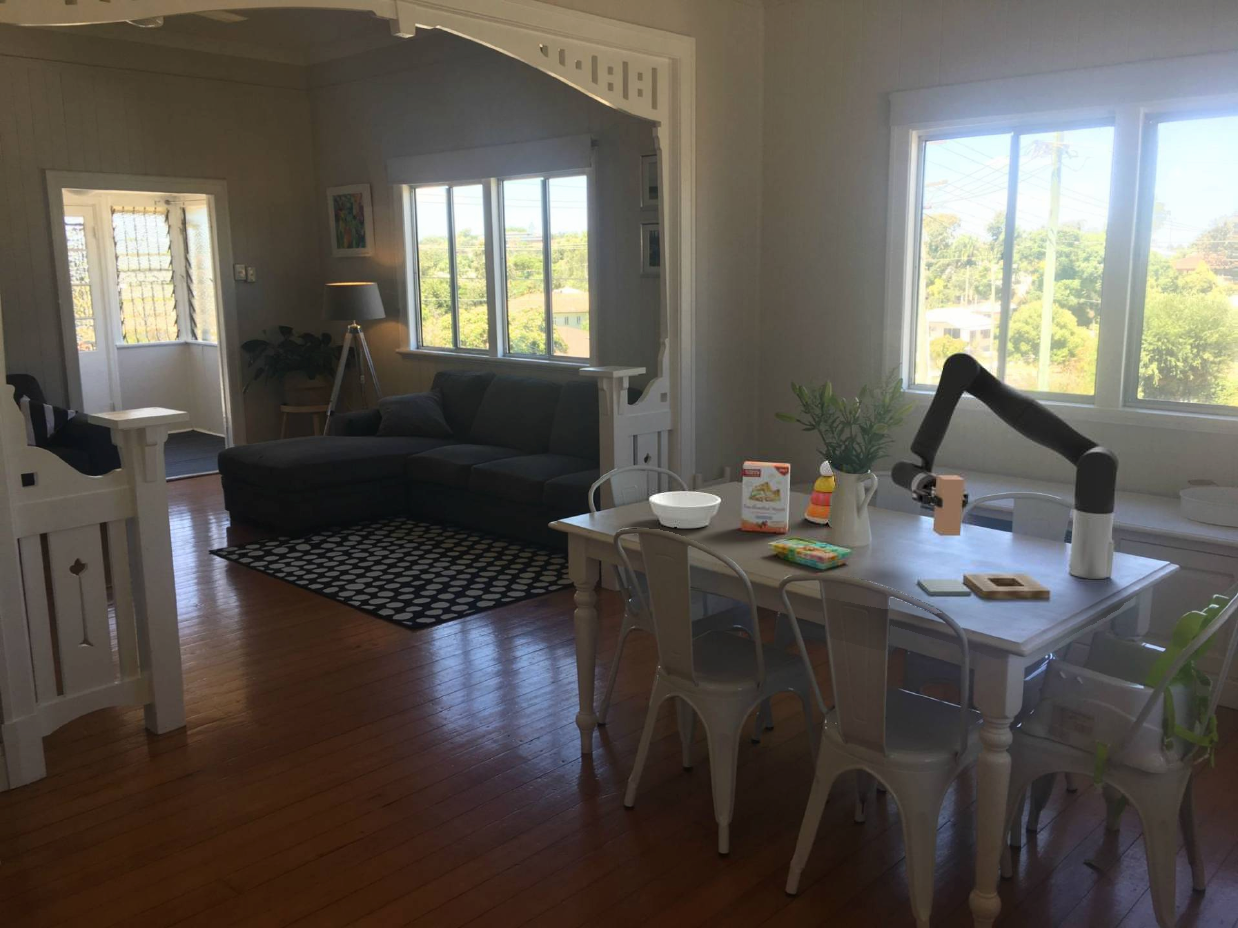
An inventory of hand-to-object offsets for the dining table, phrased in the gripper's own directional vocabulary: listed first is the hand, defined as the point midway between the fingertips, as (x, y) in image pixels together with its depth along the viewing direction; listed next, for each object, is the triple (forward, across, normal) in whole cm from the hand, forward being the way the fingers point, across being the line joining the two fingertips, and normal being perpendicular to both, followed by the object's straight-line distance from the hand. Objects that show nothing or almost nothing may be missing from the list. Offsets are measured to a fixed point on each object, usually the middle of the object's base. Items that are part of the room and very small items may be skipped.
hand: (952, 503), depth 243 cm
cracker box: (-62, -35, +23) cm, 75 cm away
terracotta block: (-3, 0, +8) cm, 8 cm away
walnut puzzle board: (-1, +15, +22) cm, 27 cm away
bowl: (-70, -59, +23) cm, 95 cm away
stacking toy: (-74, -13, +23) cm, 79 cm away
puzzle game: (-30, -28, +23) cm, 47 cm away
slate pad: (-2, 0, +22) cm, 23 cm away
